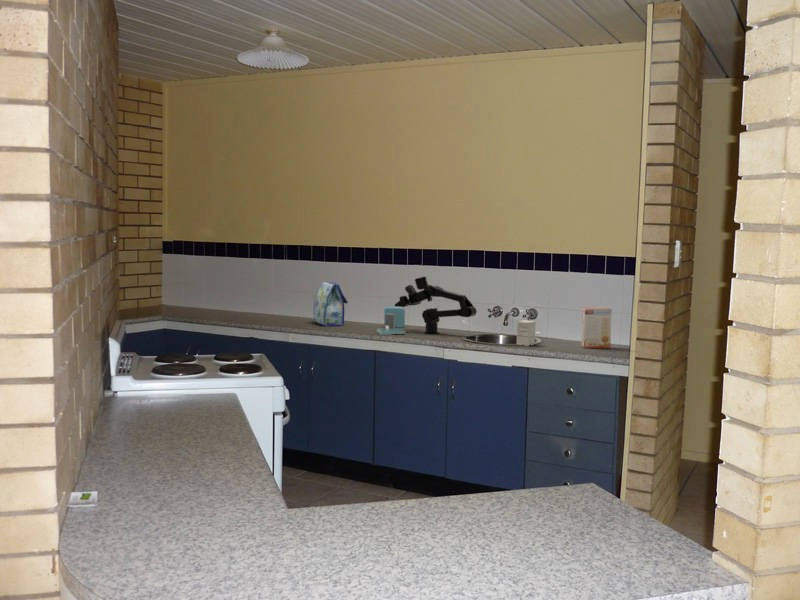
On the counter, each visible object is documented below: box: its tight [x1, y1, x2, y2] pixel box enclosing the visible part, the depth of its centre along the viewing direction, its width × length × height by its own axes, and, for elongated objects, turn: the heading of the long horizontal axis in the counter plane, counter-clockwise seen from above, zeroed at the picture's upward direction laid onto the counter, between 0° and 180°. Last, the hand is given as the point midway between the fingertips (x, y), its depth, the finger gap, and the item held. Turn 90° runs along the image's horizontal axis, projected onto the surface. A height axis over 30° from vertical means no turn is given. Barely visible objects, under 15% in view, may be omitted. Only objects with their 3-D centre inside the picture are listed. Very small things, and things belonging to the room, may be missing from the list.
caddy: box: [376, 326, 406, 336], centre depth 452 cm, size 14×11×4 cm
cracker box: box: [581, 306, 612, 349], centre depth 413 cm, size 14×6×21 cm, turn 92°
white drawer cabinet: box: [516, 319, 536, 347], centre depth 418 cm, size 7×7×13 cm
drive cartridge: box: [384, 313, 396, 329], centre depth 464 cm, size 5×5×10 cm
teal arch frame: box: [383, 306, 406, 328], centre depth 483 cm, size 12×4×12 cm, turn 96°
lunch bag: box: [313, 281, 348, 327], centre depth 492 cm, size 22×17×26 cm
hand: (398, 304), depth 469 cm, fingers open, 9 cm apart
